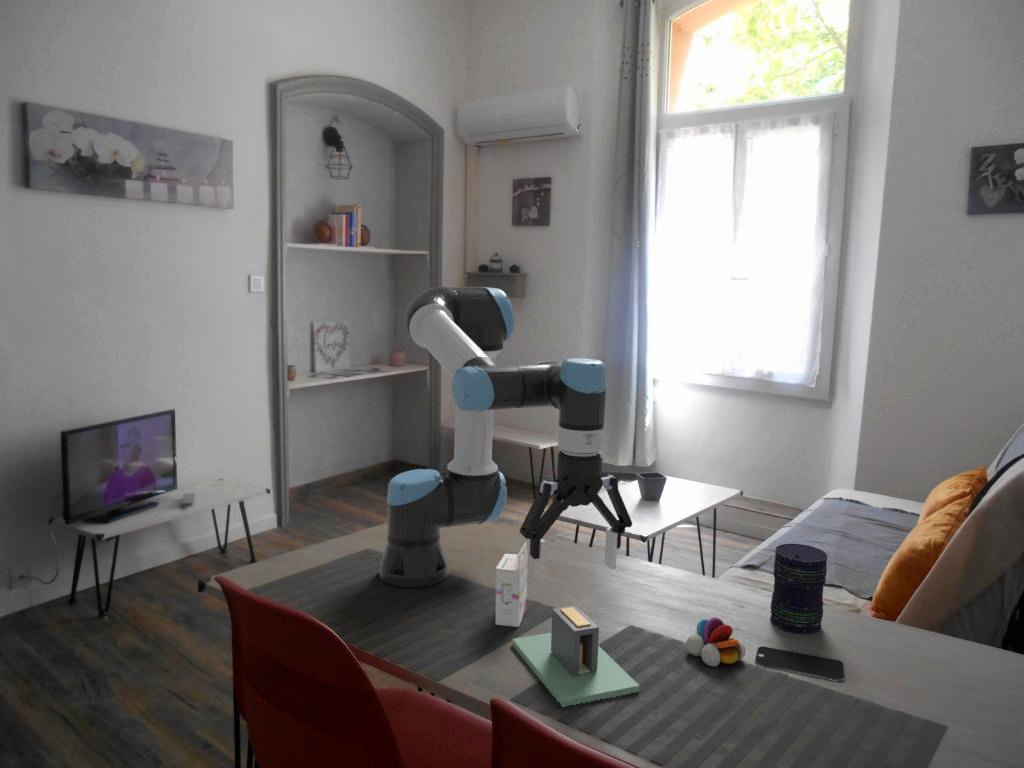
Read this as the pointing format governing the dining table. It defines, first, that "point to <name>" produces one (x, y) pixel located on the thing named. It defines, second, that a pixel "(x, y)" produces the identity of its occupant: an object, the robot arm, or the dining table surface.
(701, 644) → the rainbow wheeled toy
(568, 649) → the plug housing
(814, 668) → the smartphone
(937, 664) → the dining table surface
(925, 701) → the dining table surface
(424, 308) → the robot arm
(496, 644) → the dining table surface
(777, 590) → the storage jar
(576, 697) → the header board
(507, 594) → the ink cartridge box
